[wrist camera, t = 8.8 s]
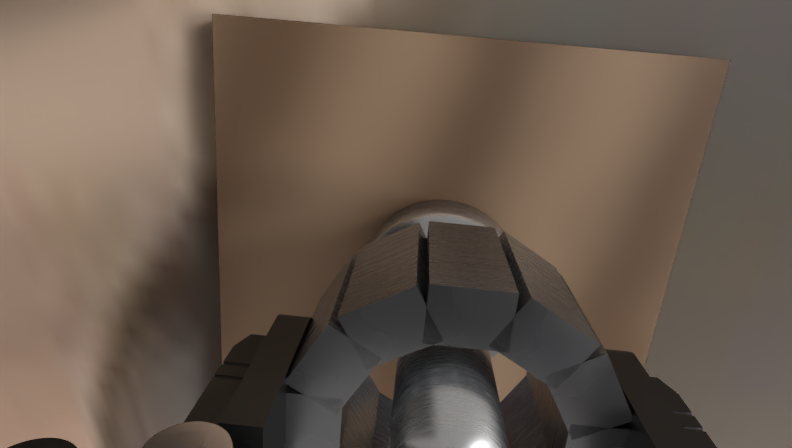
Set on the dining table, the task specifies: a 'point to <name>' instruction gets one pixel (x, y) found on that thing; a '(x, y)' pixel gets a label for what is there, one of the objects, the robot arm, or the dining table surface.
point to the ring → (453, 340)
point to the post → (444, 365)
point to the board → (451, 162)
